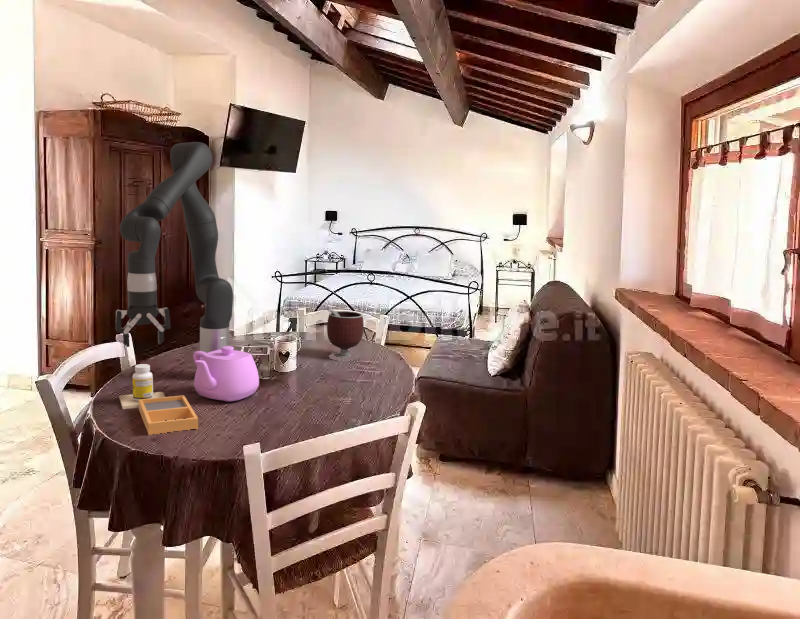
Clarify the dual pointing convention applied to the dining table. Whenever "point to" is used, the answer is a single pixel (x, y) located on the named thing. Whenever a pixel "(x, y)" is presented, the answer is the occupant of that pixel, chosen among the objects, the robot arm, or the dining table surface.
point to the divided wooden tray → (167, 414)
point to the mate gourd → (344, 330)
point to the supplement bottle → (142, 382)
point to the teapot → (225, 374)
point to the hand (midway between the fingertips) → (143, 345)
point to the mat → (129, 402)
